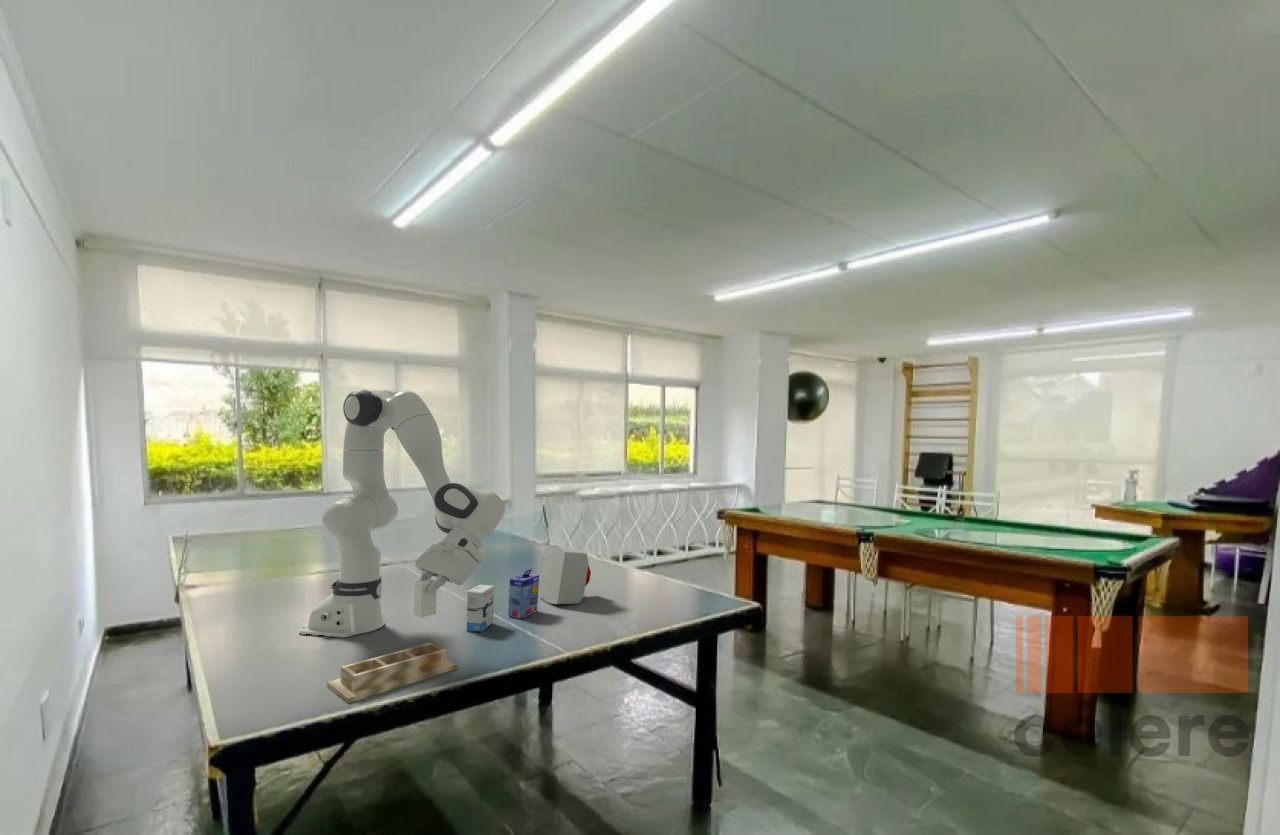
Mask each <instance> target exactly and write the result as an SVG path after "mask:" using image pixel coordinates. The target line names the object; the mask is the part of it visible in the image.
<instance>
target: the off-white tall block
mask: <svg viewBox="0 0 1280 835" xmlns="http://www.w3.org/2000/svg"><path fill="white" fill-rule="evenodd" d="M434 581H435V580H434V579H432V578H430V579H428V580H422V581H419V580H418V581H414V596H413V597H414V598H413V615H415V616H416V617H419V618H425V617H428V616H433V615H436V614H437V591H438V589H437V590H436V591H435V592H434V593H433V594H429V593H427V592H426V591H425V589H426V587H427V586H428V585H429V584H432V583H433V582H434Z"/></svg>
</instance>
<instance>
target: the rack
mask: <svg viewBox="0 0 1280 835" xmlns="http://www.w3.org/2000/svg"><path fill="white" fill-rule="evenodd" d="M456 668H457V669H458V664H457V663H456V662H453V661H452V660H450V659H448V658H447V650H446V649H444V648H442V647H441V646H438V645H437V644H435V643H433V642H429V643H428V642H427V643H424V644H420V645H417V646H412V647H409V648H406V649H405V648H404V649H402V650H398V651H394V652H391V653H387V654H383V655H379V656H376V657H371V658H369V659H365V660H361V661H357V662H354V663H353V662H352V663H350V664H346V665H342V666H340V678H337V679H334V680H332V679H331V680H329V681H327V682H326V687H327V686H328V687H329V688H328V687H327V688H328V689H329V690H330V691H332V692H333V691H334V692H335V695H337V696H338V695H339V696H340V697H339V696H338V697H339V698H341V699H342V700H343V701H344V702H346V704H351V703H354V702H356V701H360V700H363V699H366V698H370V697H373V696H376V695H378V694H382V693H385V692H388V691H392V690H395V689H398V688H401V687H404V686H406V685H411V684H413V683H417V682H419V681H423V680H427V679H430V678H432V677H433V678H434V677H436V676H439V675H442V674H446V673H449V672H452V671H455V670H457V669H456ZM454 669H455V670H454ZM451 670H452V671H451ZM448 671H449V672H448ZM445 672H446V673H445ZM334 692H333V693H334ZM372 695H373V696H372Z"/></svg>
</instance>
